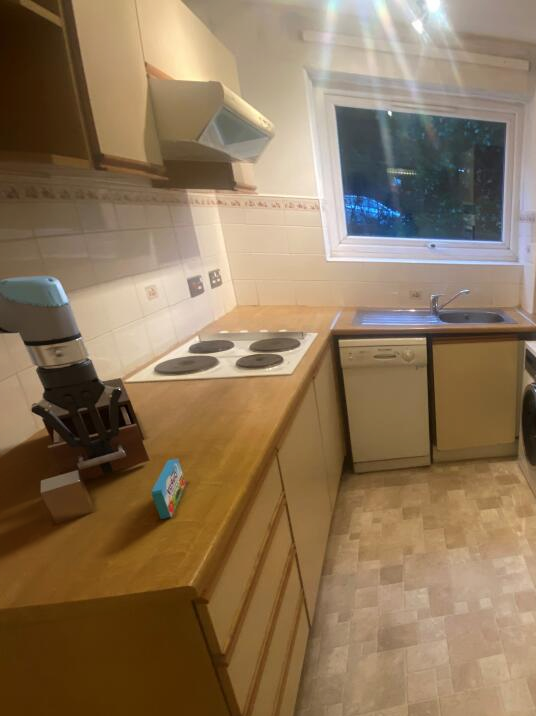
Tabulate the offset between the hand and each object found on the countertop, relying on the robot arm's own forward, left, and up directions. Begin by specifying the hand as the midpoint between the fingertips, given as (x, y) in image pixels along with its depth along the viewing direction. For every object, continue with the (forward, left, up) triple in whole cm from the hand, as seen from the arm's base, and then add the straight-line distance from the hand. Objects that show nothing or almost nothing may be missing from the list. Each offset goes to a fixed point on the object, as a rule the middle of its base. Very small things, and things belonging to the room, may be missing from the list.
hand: (107, 469), depth 89 cm
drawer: (0, +9, -2) cm, 9 cm away
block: (-6, -8, -3) cm, 10 cm away
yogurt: (+8, -16, -3) cm, 19 cm away
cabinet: (0, +28, -3) cm, 28 cm away
